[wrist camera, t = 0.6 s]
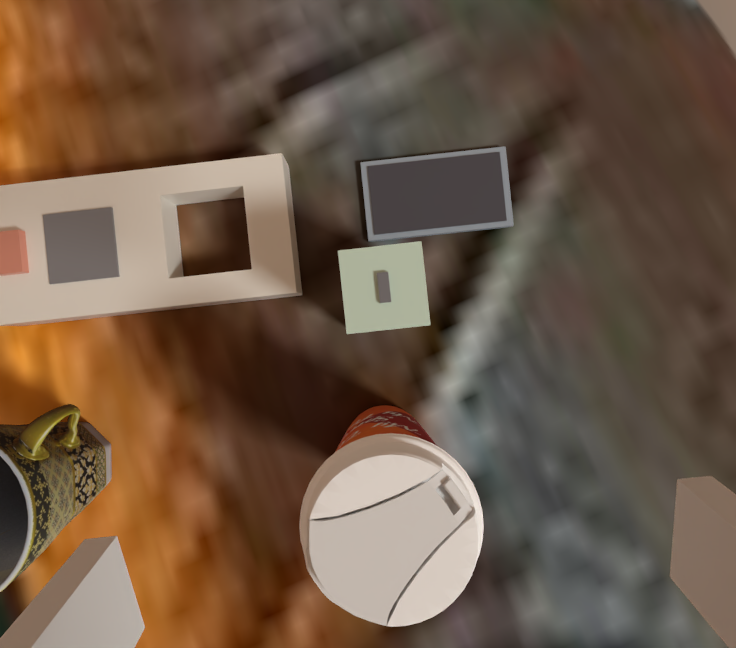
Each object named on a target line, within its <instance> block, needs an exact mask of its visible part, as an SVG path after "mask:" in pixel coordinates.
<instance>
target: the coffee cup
mask: <svg viewBox="0 0 736 648" xmlns="http://www.w3.org/2000/svg"><path fill="white" fill-rule="evenodd" d="M299 526H300V538H301V543H302V548H303V552H304V556H305V562H306V567H307V570H308V572H309V574H310V575H311V577H312V578H313V580H314V582H315V583H316V584H317V586H318V587H319V589H320V590H321V591H322V592H323V594H324V595H325V596H326V597H327V598H328V599H329V600H331V601H332V602H333V603H335V604H337V605H338V606H340V607H342V608H343V609H344V610H346V611H348V612H349V613H351V614H353V615H354V616H357V617H359V618H362V619H365V620H367V621H370V622H374V623H377V624H381V625H384V626H391V627H395V626H407V625H411V624H416V623H420V622H422V621H425V620H427V619H429V618H432V617H433V616H435V615H437V614H438V613H440V612H442V611H443V610H444V609H446V608H447V607H448V606H449V605H450V604H451V603H453V602H454V601H455V600H456V598H457V597H458V596H459V595H460V594H461V592H462V591H463V590H464V588H465V587H466V585H467V583H468V582H469V580H470V578H471V576H472V573H473V571H474V568H475V566H476V562H477V559H478V557H479V554H480V550H481V545H482V541H483V528H484V525H483V513H482V508H481V504H480V500H479V496H478V494H477V492H476V489H475V487H474V485H473V483H472V481H471V480H470V478H469V476H468V475H467V473H466V472H465V470H464V469H463V468H462V467H461V466H460V464H459V463H458V462H457V461H456V460H455V459H454V458H453V457H452V456H450V455H449V454H448V453H447V452H446V451H444V450H443V449H441V448H439V447H438V446H437V445H436V444H435V443H434V442H433V441H432V439H431V438H430V437H429V435H428V434H427V433H426V432H425V430H424V429H423V428H422V427H421V425H420V424H419V423H418V422H417V421H416V420H415V419H414V418H413V417H412V416H411V415H410V414H409V413H407V412H406V411H404V410H402V409H400V408H398V407H394V406H388V405H381V406H375V407H372V408H369V409H367V410H365V411H364V412H362V413H361V414H360V415H358V416H357V417H356V419H355V420H354V421H353V422H352V423H351V425H350V426H349V428H348V430H347V431H346V433H345V435H344V436H343V438H342V440H341V442H340V444H339V445H338V447H337V449H336V451H335V453H334V454H333V455H331V456H330V457H329V458H328V459H327V460H326V461H325V462H324V463H323V464H322V466H321V467H320V468H319V469H318V470H317V472H316V473H315V475H314V477H313V478H312V480H311V482H310V483H309V486H308V488H307V491H306V493H305V495H304V498H303V503H302V507H301V512H300V525H299Z"/></svg>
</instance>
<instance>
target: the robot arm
mask: <svg viewBox="0 0 736 648" xmlns="http://www.w3.org/2000/svg"><path fill="white" fill-rule="evenodd" d="M670 578H671V579H672V580H673V581H674V583H675V584H676V585H677V586H678V587H679V589H680V590H681V591H682V592H683V593H684V595H685V596H686V597H687V598H688V599H689V601H690V602H691V603H692V604H693V605H694V607H695V608H696V609H697V610H698V611H699V613H700V614H701V615H702V616H703V617H704V619H705V620H706V621H707V622H708V623H709V625H710V626H711V627H712V628H713V629H714V631H715V632H716V633H717V634H718V635H719V636H720V638H721V639H722V640H723V641H724V642H725V644H726V645H727V646H728V647H729V648H736V494H734V493H733V492H732V491H730V490H729V489H728V488H726V487H725V486H724V485H723V484H721V483H720V482H719V481H717V480H716V479H715V478H713V477H712V476H704V477H694V478H685V479H677V491H676V504H675V517H674V530H673V543H672V556H671V569H670ZM144 629H145V626H144V622H143V619H142V616H141V613H140V609H139V606H138V603H137V600H136V596H135V593H134V590H133V587H132V583H131V580H130V577H129V574H128V570H127V567H126V564H125V561H124V557H123V554H122V551H121V547H120V544H119V541H118V538H117V536H111V537H101V538H92V539H85V540H84V541H83V542H82V543H81V545H80V546H79V547H78V548H77V549H76V550H75V552H74V553H73V554H72V555H71V556H70V558H69V559H68V560H67V561H66V562H65V563H64V565H63V566H62V567H61V568H60V569H59V570H58V572H57V573H56V574H55V575H54V576H53V577H52V579H51V580H50V581H49V582H48V583H47V584H46V586H45V587H44V588H43V589H42V590H41V591H40V593H39V594H38V595H37V596H36V597H35V598H34V600H33V601H32V602H31V603H30V604H29V605H28V607H27V608H26V609H25V610H24V611H23V612H22V614H21V615H20V616H19V617H18V618H17V619H16V621H15V622H14V623H13V624H12V625H11V626H10V628H9V629H8V630H7V631H6V632H5V633H4V635H3V636H2V637H1V638H0V648H135V646H136V644H137V642H138V640H139V638H140V636H141V634H142V632H143V631H144Z"/></svg>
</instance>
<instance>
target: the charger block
mask: <svg viewBox="0 0 736 648" xmlns="http://www.w3.org/2000/svg"><path fill="white" fill-rule="evenodd" d="M338 258H339V267H340V276H341V286H342V295H343V304H344V314H345V323H346V332H347V334H352V333H362V332H371V331H380V330H390V329H399V328H408V327H418V326H427V325H430V316H429V306H428V297H427V288H426V279H425V270H424V261H423V251H422V242H421V241H420V242H411V243H402V244H393V245H384V246H375V247H366V248H357V249H348V250H339V251H338Z"/></svg>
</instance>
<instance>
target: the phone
mask: <svg viewBox="0 0 736 648" xmlns="http://www.w3.org/2000/svg"><path fill="white" fill-rule="evenodd" d="M360 163H361V173H362V183H363V193H364V203H365V213H366V222H367V232H368V242H372V241H382V240H391V239H401V238H411V237H420V236H430V235H439V234H449V233H458V232H468V231H477V230H487V229H496V228H506V227H512V226H514V224H513V214H512V205H511V195H510V185H509V176H508V166H507V157H506V147H495V148H486V149H477V150H468V151H459V152H450V153H441V154H432V155H423V156H414V157H405V158H395V159H386V160H377V161H368V162H360Z"/></svg>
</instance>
